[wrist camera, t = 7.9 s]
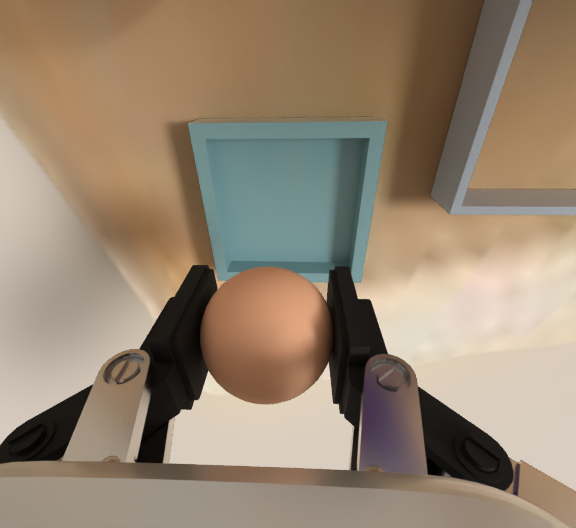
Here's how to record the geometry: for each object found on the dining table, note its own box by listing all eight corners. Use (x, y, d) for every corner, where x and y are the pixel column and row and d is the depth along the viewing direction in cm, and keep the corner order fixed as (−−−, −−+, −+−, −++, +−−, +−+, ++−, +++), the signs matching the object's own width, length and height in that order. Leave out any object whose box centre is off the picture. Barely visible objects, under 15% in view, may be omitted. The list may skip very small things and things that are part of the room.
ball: (332, 242, 10) (350, 337, 7) (325, 329, 13) (335, 435, 9) (210, 242, 11) (159, 334, 7) (226, 328, 13) (196, 430, 9)
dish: (378, 116, 16) (387, 121, 14) (356, 266, 22) (361, 282, 20) (199, 118, 17) (187, 123, 15) (224, 264, 23) (218, 280, 21)
